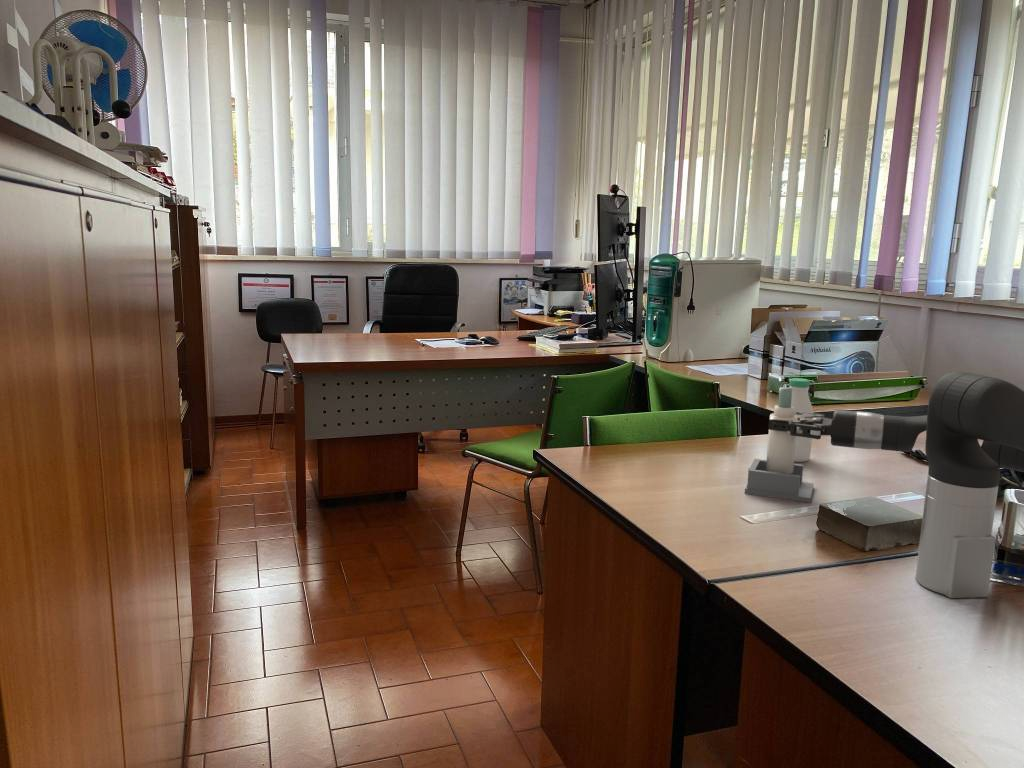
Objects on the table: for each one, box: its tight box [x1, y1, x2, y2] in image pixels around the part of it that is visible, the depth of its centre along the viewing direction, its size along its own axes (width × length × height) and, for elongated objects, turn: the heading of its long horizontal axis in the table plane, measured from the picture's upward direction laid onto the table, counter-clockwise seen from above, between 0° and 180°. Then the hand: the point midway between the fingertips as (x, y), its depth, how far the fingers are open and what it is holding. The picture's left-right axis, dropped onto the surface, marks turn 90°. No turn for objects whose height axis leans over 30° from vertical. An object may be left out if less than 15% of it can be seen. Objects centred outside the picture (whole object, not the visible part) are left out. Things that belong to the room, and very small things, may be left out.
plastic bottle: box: [766, 386, 798, 474], centre depth 158 cm, size 6×6×18 cm
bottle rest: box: [744, 458, 815, 504], centre depth 159 cm, size 11×13×5 cm
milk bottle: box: [789, 377, 814, 463], centre depth 183 cm, size 8×8×20 cm
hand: (770, 421), depth 158 cm, fingers closed on plastic bottle, 5 cm apart
